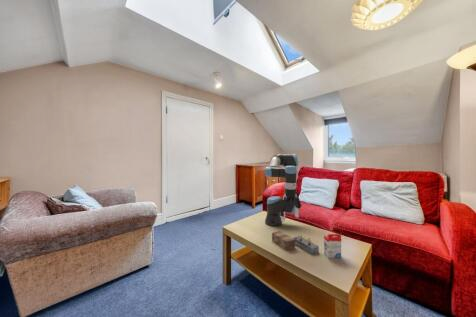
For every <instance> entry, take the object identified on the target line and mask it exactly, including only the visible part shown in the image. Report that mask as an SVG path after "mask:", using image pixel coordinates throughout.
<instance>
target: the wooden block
mask: <svg viewBox="0 0 476 317" xmlns="http://www.w3.org/2000/svg"><path fill="white" fill-rule="evenodd" d="M271 241H272V242H273V243H274V244H275V245H278V246H279V247H281V248H282V249H284V250H285V251H286V252H287V251H291V250H293V249H296V245H295V239H294V237H292V236H290V235H288V234H287V233H284V232H283V231H281V230H277V231H273V232H272V233H271Z"/></svg>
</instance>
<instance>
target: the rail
mask: <svg viewBox="0 0 476 317" xmlns="http://www.w3.org/2000/svg"><path fill="white" fill-rule="evenodd" d="M293 238H294V239H295V246H297V247H299V248H300V249H302V250H303V251H305V252H307V253H309V254H310V255H312V256H313V255H316V254H318V253H319V252H320V246H319V245H317V244H315V243H314V242H312V241H311V238H310V237H308V238H305V237H303V234H302V233H299V235H298V236H295V237H293Z"/></svg>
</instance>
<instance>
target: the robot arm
mask: <svg viewBox="0 0 476 317" xmlns="http://www.w3.org/2000/svg"><path fill="white" fill-rule="evenodd" d="M298 160H299V159H298V155H297V154H296V153H280V152H279V153H277V154H274V155H272V157H270V160H269V166H266V167H265V170H264V173H265V177H267V178H284V195H282V196H276V195H275V196H270V197H268V198H267V201H266V217H265V219H264V223H265V225H268V226H271V227H279V226H282V225H283V222H286V214H294V217H295V218H297V219H298V218H299V216H300V215H299V214H300V209H301V208H302V203H301V200H300V198H299V197H300V196H299V194H297V172H298V170H297V167H298V166H299V161H298ZM280 166H281V167H280Z"/></svg>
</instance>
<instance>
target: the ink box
mask: <svg viewBox="0 0 476 317" xmlns="http://www.w3.org/2000/svg"><path fill="white" fill-rule="evenodd" d="M323 255H324V256H326V258H328V259H329V258H330V259H333V258H342V234H341V233H328V234H327V235H323Z"/></svg>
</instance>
